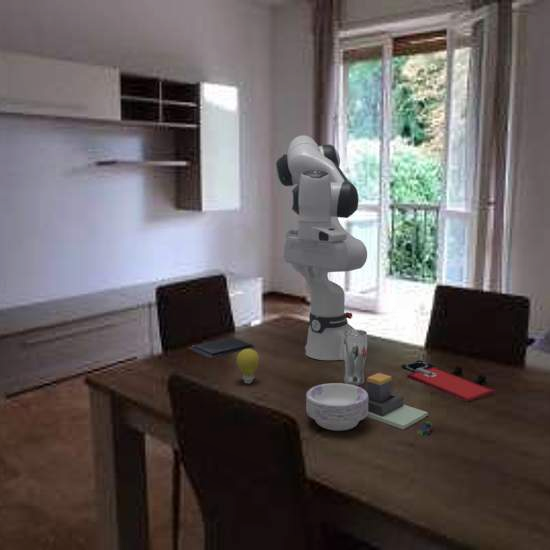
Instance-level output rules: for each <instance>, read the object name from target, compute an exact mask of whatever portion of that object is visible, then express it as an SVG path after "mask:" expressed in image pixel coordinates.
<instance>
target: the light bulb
mask: <svg viewBox="0 0 550 550" xmlns="http://www.w3.org/2000/svg"><path fill="white" fill-rule="evenodd" d="M236 364H237V366H238V368H239V370H240V371H241V372H242V380H243V382H244V383H245V384H252V383H253V380H254V378H255V375H254V372H255V371H256V370H257V368H258V366H259V364H260V356H259V354H258V352H257V351H256V350H254V349H253V348H252V349H244V350H242V351H239V352H238V355H237V357H236ZM251 382H252V383H251Z"/></svg>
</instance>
